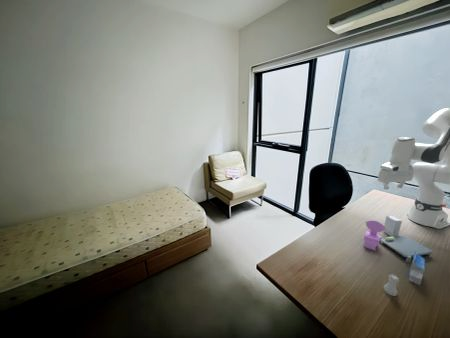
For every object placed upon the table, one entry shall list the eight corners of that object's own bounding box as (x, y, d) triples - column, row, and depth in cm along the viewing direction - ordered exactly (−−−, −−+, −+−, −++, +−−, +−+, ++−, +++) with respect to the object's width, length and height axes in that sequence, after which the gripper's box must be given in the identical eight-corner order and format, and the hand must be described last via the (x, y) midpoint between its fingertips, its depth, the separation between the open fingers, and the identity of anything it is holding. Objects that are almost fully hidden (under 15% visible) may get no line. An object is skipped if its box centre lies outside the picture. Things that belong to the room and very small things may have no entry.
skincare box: (398, 238, 111) (403, 220, 107) (391, 239, 110) (396, 221, 107) (387, 232, 117) (392, 215, 113) (381, 233, 116) (386, 215, 113)
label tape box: (420, 286, 80) (428, 263, 77) (407, 280, 83) (414, 257, 80) (420, 274, 86) (428, 252, 83) (408, 269, 89) (416, 247, 86)
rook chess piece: (380, 287, 80) (384, 272, 78) (389, 286, 80) (394, 271, 78) (389, 297, 76) (394, 281, 74) (399, 296, 76) (405, 280, 74)
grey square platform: (400, 239, 110) (402, 233, 109) (434, 259, 95) (436, 253, 94) (376, 242, 107) (377, 237, 106) (406, 263, 92) (408, 257, 91)
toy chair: (359, 247, 104) (365, 223, 100) (362, 239, 110) (367, 217, 106) (378, 254, 99) (385, 229, 95) (380, 245, 105) (386, 222, 101)
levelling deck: (403, 236, 108) (404, 232, 107) (432, 253, 95) (434, 248, 94) (379, 240, 106) (380, 236, 105) (405, 258, 93) (407, 253, 92)
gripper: (407, 163, 110) (401, 185, 114) (378, 165, 107) (373, 187, 111) (419, 166, 104) (413, 189, 108) (389, 168, 101) (383, 191, 105)
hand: (392, 188), depth 110 cm, fingers open, 8 cm apart
